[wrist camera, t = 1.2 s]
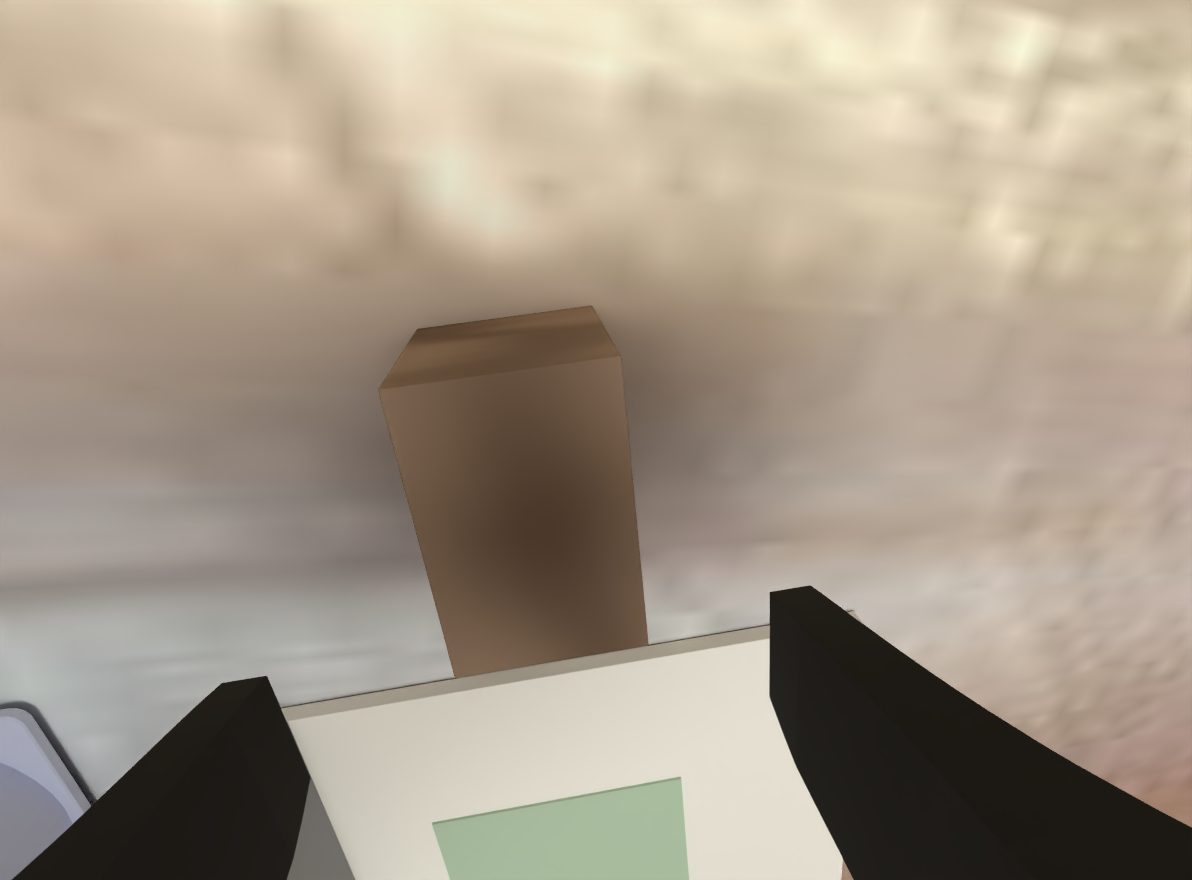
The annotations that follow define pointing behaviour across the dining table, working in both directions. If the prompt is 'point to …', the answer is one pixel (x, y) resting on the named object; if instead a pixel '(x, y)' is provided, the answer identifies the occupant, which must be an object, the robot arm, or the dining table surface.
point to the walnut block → (520, 487)
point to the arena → (564, 774)
